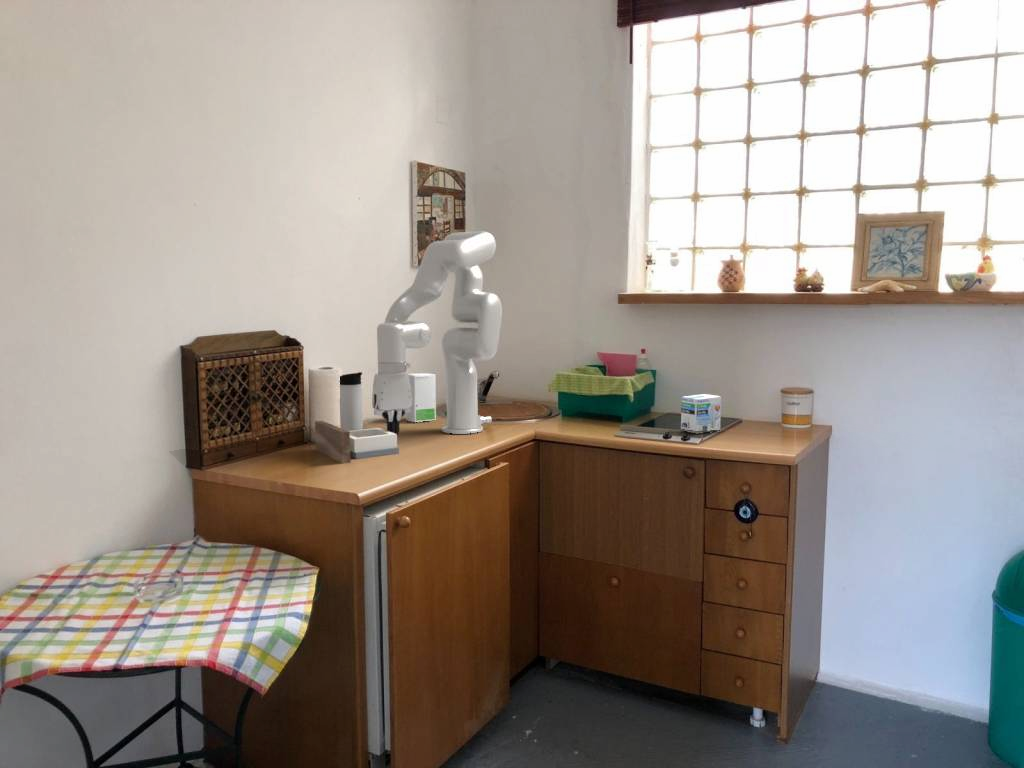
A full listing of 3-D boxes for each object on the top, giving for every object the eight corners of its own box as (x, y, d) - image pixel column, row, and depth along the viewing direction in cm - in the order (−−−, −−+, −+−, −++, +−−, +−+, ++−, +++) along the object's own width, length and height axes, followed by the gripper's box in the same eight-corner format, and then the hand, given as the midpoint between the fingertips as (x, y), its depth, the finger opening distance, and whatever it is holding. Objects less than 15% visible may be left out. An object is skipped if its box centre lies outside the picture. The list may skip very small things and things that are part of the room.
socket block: (377, 444, 223) (377, 427, 223) (398, 453, 212) (398, 434, 211) (336, 449, 217) (336, 431, 216) (356, 458, 205) (355, 439, 205)
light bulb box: (696, 435, 235) (696, 398, 234) (679, 431, 241) (680, 396, 240) (721, 431, 241) (722, 395, 240) (704, 427, 247) (705, 393, 245)
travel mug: (359, 443, 225) (357, 373, 223) (337, 443, 226) (334, 373, 224) (367, 439, 231) (365, 371, 229) (346, 438, 233) (343, 370, 230)
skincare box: (414, 423, 258) (413, 375, 256) (405, 420, 263) (404, 373, 261) (437, 420, 262) (436, 374, 260) (428, 418, 268) (427, 372, 266)
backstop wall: (322, 449, 218) (321, 420, 217) (350, 462, 201) (349, 431, 200) (315, 450, 217) (314, 421, 216) (342, 463, 200) (341, 432, 199)
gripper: (410, 365, 223) (411, 430, 225) (360, 369, 215) (362, 435, 217) (422, 368, 217) (424, 434, 219) (371, 371, 209) (373, 440, 211)
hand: (393, 435), depth 218 cm, fingers closed
